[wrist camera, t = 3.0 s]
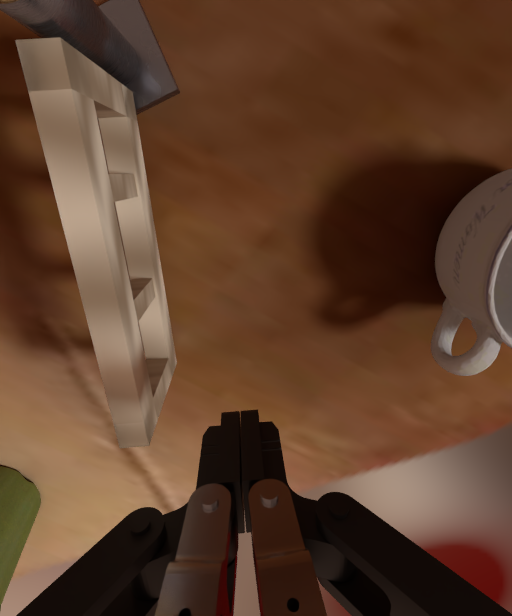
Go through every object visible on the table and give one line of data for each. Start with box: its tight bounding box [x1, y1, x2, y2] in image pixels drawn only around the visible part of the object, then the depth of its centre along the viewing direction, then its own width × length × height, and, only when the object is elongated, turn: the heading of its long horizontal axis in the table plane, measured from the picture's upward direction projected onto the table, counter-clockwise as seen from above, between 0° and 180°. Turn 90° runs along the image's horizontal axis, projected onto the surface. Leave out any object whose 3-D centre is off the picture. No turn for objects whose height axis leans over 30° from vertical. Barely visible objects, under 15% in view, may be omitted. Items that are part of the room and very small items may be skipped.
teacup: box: [431, 169, 512, 376], centre depth 22 cm, size 14×11×8 cm
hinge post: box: [0, 0, 180, 121], centre depth 14 cm, size 5×5×13 cm
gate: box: [15, 37, 177, 448], centre depth 19 cm, size 17×2×8 cm, turn 4°
